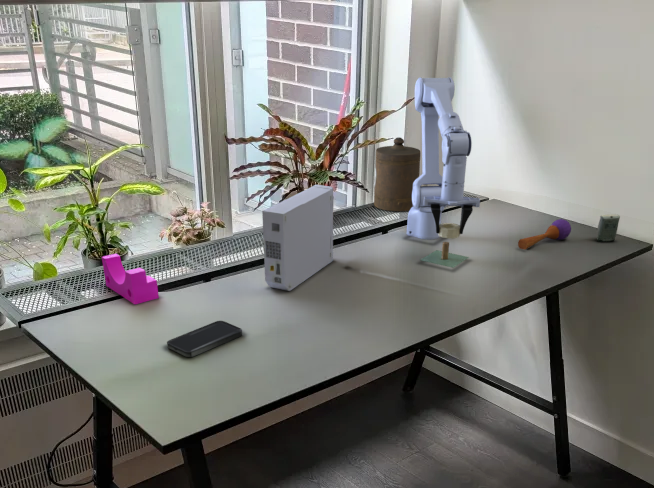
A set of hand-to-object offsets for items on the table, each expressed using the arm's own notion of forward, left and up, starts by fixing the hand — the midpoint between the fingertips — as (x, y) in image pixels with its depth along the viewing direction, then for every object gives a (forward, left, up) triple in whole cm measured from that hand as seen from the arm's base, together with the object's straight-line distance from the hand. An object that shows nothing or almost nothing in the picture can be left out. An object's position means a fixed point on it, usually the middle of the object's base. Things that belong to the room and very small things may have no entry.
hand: (448, 232), depth 195 cm
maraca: (+17, +31, -8) cm, 36 cm away
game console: (-26, -30, -8) cm, 41 cm away
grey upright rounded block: (+31, +44, -8) cm, 54 cm away
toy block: (-53, -63, -8) cm, 83 cm away
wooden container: (-38, +40, -8) cm, 56 cm away
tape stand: (0, 0, -8) cm, 8 cm away
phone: (-20, -73, -8) cm, 77 cm away
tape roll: (0, 0, -1) cm, 1 cm away
